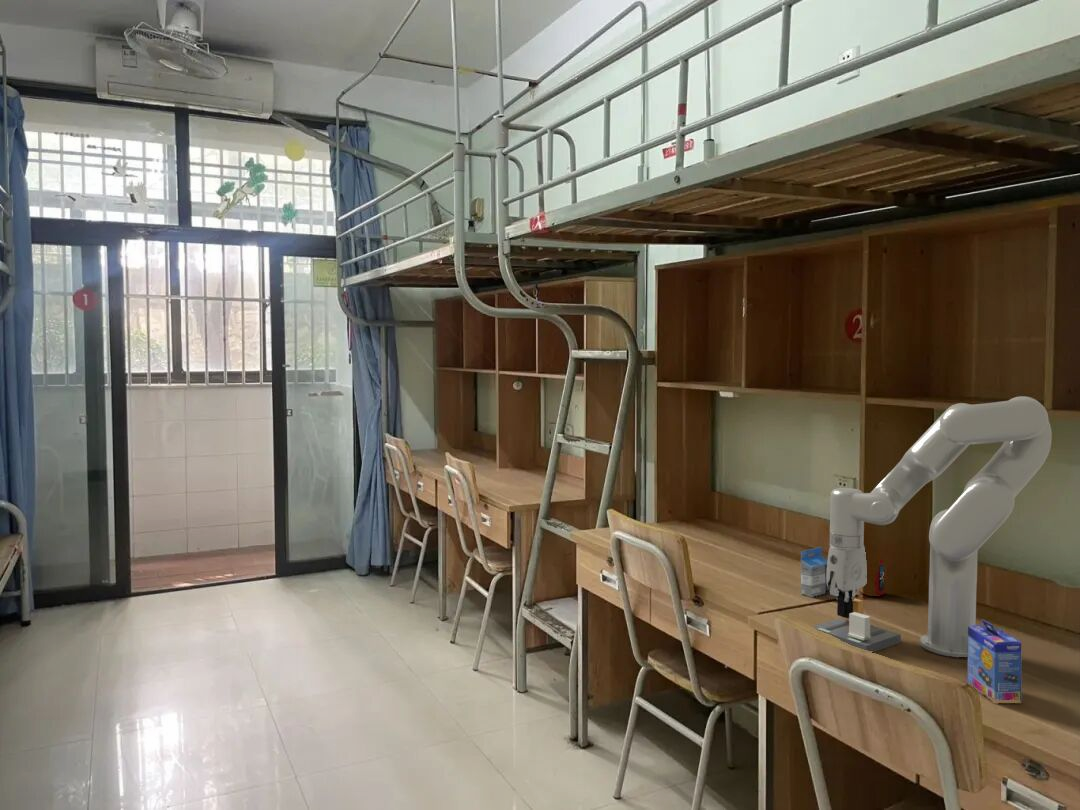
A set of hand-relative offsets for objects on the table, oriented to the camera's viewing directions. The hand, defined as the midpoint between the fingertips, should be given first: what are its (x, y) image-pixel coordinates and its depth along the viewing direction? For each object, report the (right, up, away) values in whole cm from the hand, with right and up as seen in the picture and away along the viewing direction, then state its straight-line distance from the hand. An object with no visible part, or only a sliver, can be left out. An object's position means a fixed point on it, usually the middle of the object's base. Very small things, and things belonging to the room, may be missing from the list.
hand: (845, 616), depth 193 cm
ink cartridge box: (+16, -6, -35) cm, 39 cm away
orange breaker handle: (+3, -1, +2) cm, 4 cm away
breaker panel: (+1, -4, -4) cm, 6 cm away
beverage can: (+19, -2, +31) cm, 36 cm away
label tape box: (+4, -2, +32) cm, 32 cm away
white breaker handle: (0, -2, -10) cm, 10 cm away
